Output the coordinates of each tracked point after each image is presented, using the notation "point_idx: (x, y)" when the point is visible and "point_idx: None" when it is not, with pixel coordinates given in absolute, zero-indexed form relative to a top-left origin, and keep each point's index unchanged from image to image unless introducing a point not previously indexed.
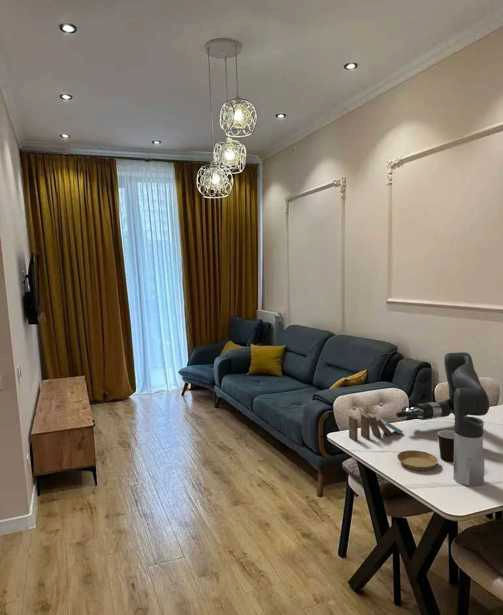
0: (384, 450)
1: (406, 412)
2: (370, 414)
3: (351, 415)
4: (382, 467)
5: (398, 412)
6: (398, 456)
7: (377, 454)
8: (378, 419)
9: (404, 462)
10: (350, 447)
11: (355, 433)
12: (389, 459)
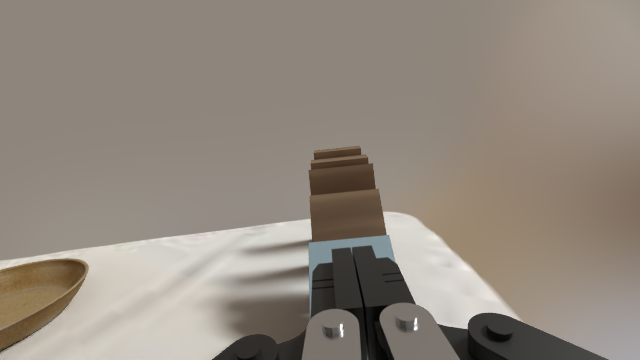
0: (190, 279)
1: (312, 323)
2: (353, 166)
3: (359, 147)
4: (118, 248)
5: (343, 249)
6: (82, 269)
7: (186, 258)
8: (314, 198)
9: (55, 293)
10: (284, 226)
11: None
12: (126, 271)
